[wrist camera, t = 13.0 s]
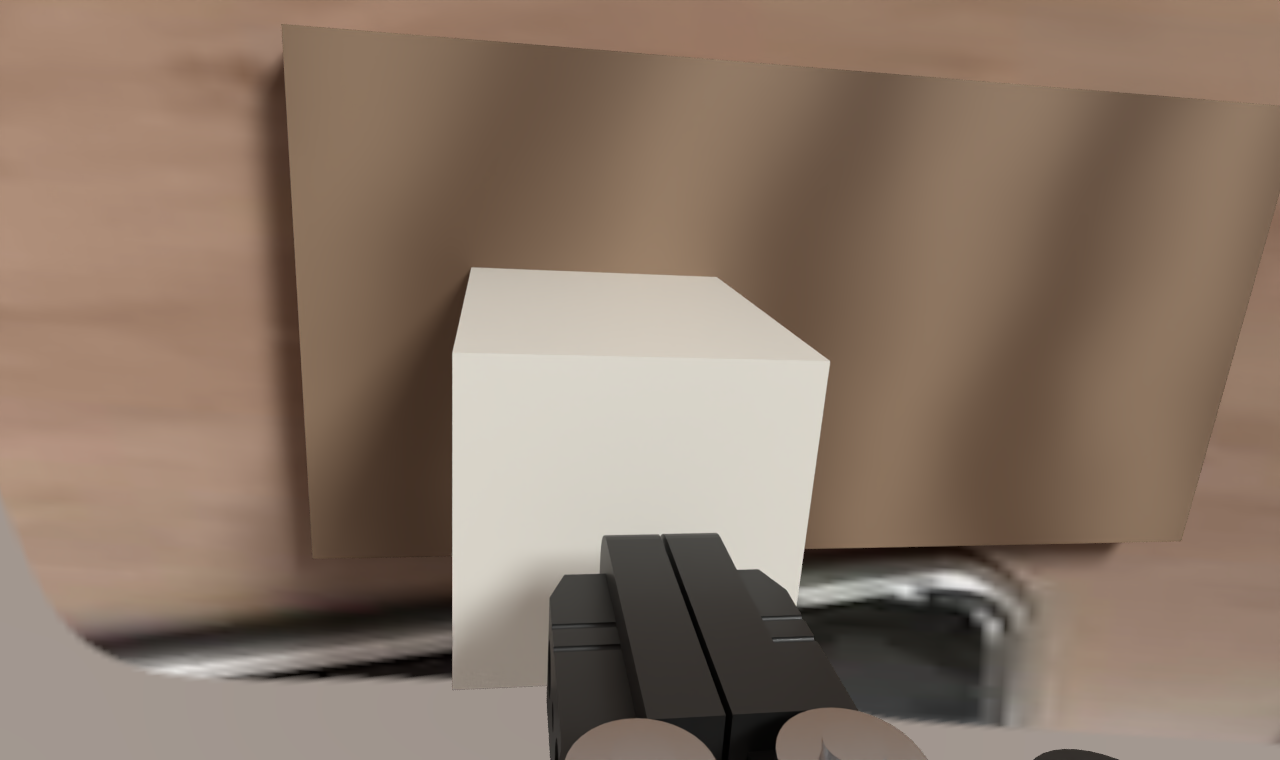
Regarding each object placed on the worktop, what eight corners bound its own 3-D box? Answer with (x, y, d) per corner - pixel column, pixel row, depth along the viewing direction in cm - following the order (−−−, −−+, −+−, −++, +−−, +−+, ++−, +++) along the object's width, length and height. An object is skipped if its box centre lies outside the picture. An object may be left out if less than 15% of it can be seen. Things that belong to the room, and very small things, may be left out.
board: (1247, 108, 20) (1303, 107, 19) (1140, 515, 23) (1181, 541, 22) (300, 32, 17) (281, 23, 15) (325, 527, 20) (312, 558, 18)
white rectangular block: (716, 276, 18) (830, 361, 12) (695, 496, 19) (786, 675, 13) (471, 267, 17) (452, 352, 11) (469, 498, 18) (452, 690, 12)
